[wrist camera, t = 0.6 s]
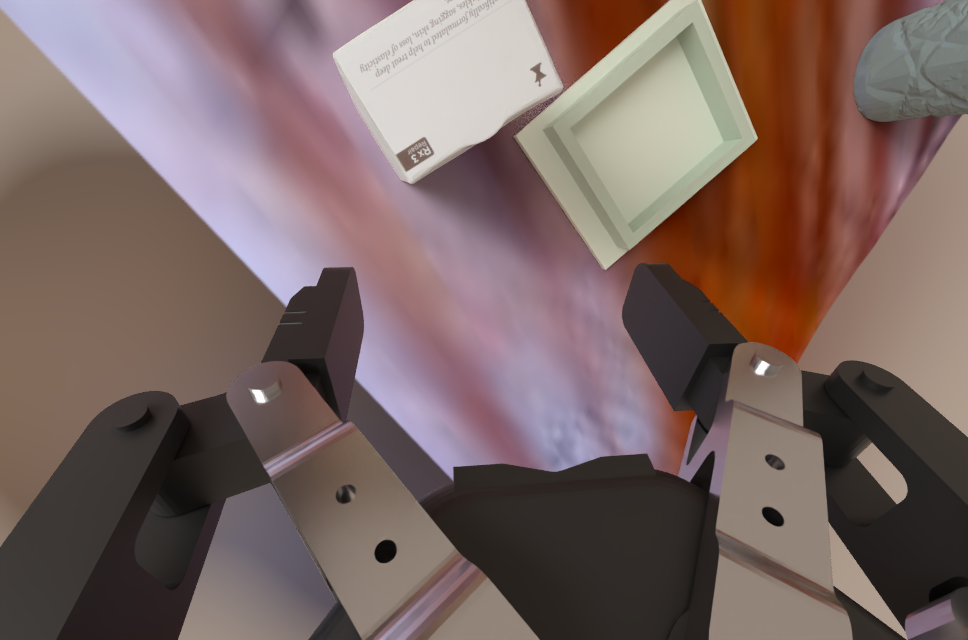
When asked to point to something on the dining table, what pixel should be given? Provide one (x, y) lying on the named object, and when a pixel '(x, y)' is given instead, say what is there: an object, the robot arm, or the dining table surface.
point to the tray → (640, 130)
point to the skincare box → (445, 78)
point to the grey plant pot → (916, 66)
